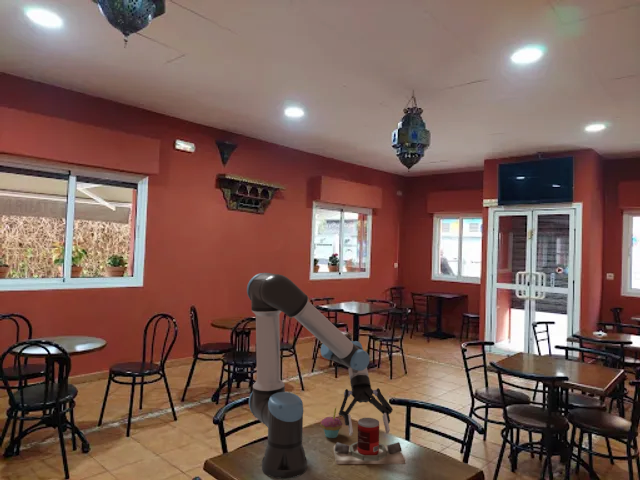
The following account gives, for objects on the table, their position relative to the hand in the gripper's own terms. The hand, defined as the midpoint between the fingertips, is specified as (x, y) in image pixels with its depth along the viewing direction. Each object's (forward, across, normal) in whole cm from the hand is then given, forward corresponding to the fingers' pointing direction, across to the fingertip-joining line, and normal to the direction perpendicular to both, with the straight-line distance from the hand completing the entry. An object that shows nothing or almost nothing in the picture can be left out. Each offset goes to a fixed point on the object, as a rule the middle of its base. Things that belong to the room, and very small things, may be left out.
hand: (369, 433), depth 158 cm
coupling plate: (+5, 0, -7) cm, 9 cm away
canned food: (+4, 0, -6) cm, 8 cm away
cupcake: (-8, +10, -20) cm, 24 cm away
